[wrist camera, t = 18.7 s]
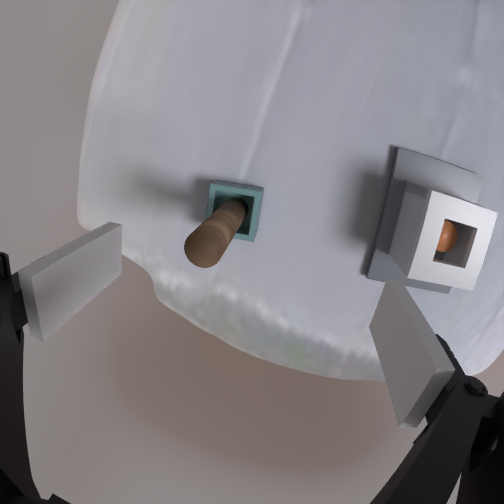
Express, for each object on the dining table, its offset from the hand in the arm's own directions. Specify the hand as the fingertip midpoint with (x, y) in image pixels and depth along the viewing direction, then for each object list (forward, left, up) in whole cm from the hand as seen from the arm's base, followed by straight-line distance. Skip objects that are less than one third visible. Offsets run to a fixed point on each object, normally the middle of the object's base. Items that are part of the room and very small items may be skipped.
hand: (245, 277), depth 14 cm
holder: (+3, -5, -27) cm, 27 cm away
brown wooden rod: (+3, -5, -26) cm, 27 cm away
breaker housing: (0, +21, -27) cm, 34 cm away
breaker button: (0, +21, -25) cm, 33 cm away
